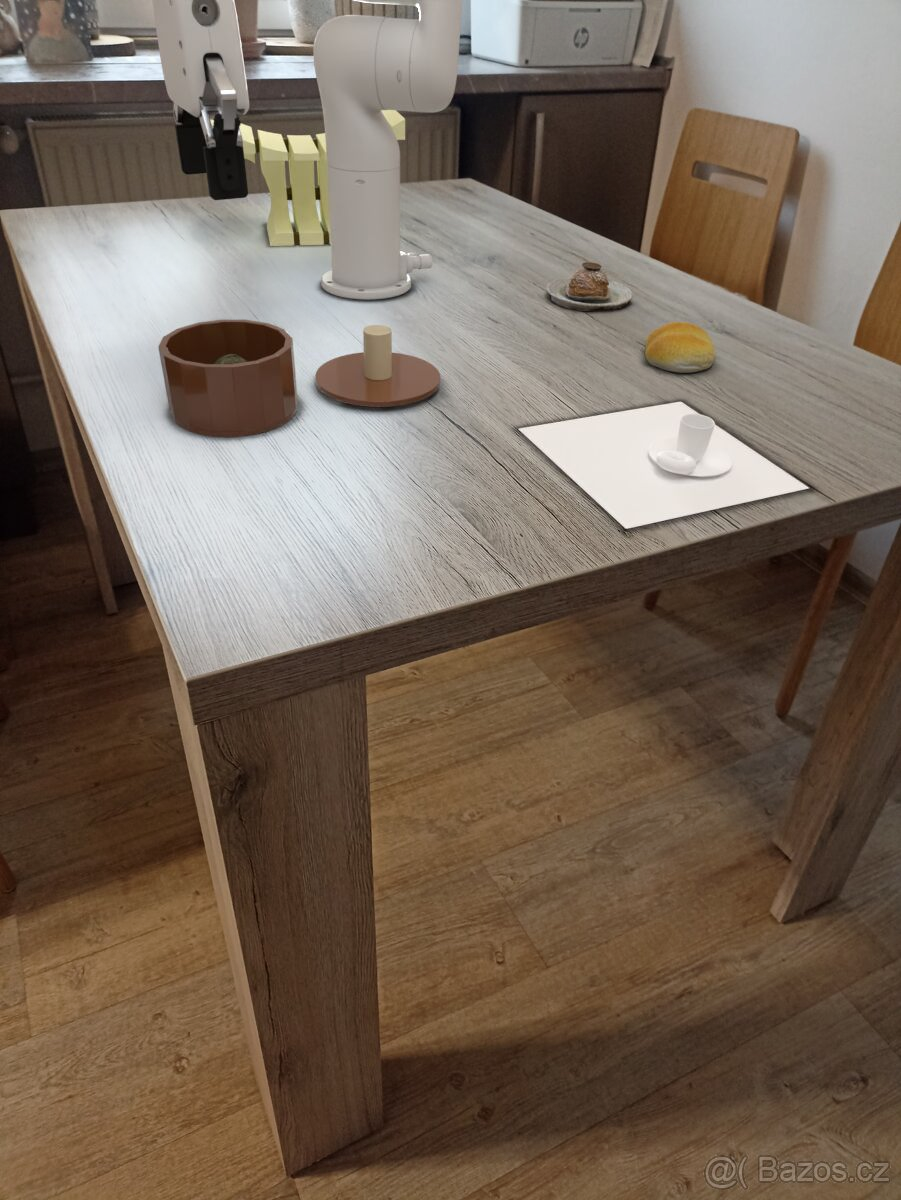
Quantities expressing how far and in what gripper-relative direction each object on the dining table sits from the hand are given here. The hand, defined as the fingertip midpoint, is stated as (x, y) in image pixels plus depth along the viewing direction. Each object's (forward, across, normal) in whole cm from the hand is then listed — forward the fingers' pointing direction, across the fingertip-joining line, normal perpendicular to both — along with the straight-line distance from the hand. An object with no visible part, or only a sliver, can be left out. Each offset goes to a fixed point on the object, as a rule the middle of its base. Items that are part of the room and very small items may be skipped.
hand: (214, 184), depth 76 cm
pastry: (+22, +14, -54) cm, 60 cm away
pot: (+21, -2, +1) cm, 21 cm away
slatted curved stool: (+22, +60, -29) cm, 70 cm away
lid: (+20, -2, -15) cm, 25 cm away
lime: (+20, -2, +1) cm, 20 cm away
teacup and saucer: (+21, -28, -33) cm, 48 cm away
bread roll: (+22, -9, -51) cm, 56 cm away
